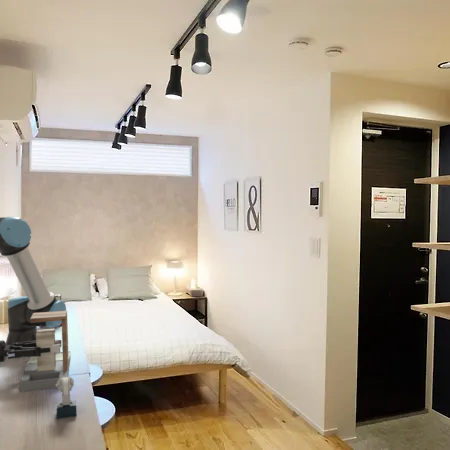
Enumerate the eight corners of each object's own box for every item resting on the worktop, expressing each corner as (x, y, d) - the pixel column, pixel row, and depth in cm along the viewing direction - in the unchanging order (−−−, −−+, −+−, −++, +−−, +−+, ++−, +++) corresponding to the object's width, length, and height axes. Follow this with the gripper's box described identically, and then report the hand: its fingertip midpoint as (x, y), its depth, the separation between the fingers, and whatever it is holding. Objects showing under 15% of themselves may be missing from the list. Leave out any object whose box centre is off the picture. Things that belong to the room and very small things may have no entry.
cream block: (38, 367, 176) (37, 330, 176) (55, 365, 178) (54, 328, 177) (37, 371, 171) (36, 333, 171) (54, 369, 173) (53, 331, 172)
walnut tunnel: (35, 365, 178) (33, 312, 177) (68, 362, 181) (67, 310, 181) (32, 374, 168) (30, 318, 168) (67, 370, 172) (65, 316, 171)
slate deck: (31, 362, 192) (31, 354, 192) (70, 358, 196) (70, 350, 196) (20, 391, 160) (19, 382, 160) (66, 386, 164) (66, 377, 164)
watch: (75, 407, 146) (74, 372, 146) (76, 418, 139) (75, 381, 138) (56, 410, 144) (55, 374, 144) (56, 421, 137) (55, 383, 136)
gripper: (-2, 354, 178) (62, 348, 185) (-13, 370, 160) (59, 363, 167) (-3, 334, 178) (61, 329, 185) (-14, 349, 160) (58, 342, 166)
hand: (60, 345), depth 176 cm, fingers open, 6 cm apart
